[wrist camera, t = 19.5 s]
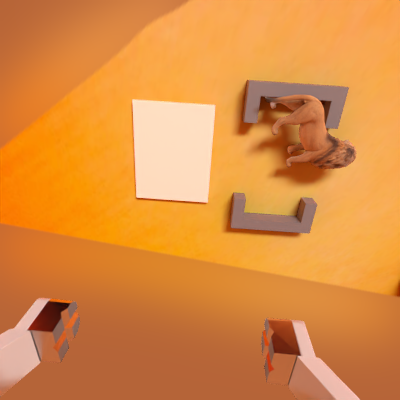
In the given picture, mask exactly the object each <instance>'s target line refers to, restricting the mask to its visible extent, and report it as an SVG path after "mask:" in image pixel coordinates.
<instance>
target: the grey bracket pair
mask: <svg viewBox="0 0 400 400" xmlns="http://www.w3.org/2000/svg"><path fill="white" fill-rule="evenodd" d="M348 89H349V87H342V86H328V85H313V84H298V83H284V82H269V81H254V80H247V86H246V95H245V103H244V111H243V119H242V120H243V121H244V122H247V123H257V119H258V112H259V105H260V98H261V96H267V97H286V96H292V95H310V96H313V97H316V98H317V99H318V100H325V102H324V106H323V108H324V122H325V126H326V128H335V129H338V126H339V122H340V118H341V115H342V111H343V107H344V104H345V100H346V96H347V93H348ZM245 201H246V199H245V195H244V193H233V200H232V208H231V217H230V225H231V228H240V229H254V230H268V231H282V232H297V233H310V229H311V225H312V222H313V218H314V214H315V211H316V207H317V204H316V203H315V201H314V200H313V199H312V198H301V201H300V206H299V210H298V214H297V216H285V215H271V214H256V213H244V208H245Z"/></svg>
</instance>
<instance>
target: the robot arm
mask: <svg viewBox="0 0 400 400" xmlns="http://www.w3.org/2000/svg"><path fill="white" fill-rule="evenodd" d="M76 309H77V304H76V302H74V301H67V300H58V299H49V298H39V299H38V300H36V301H35V303H34V304H33V305H32V307H31V308H30V309H29V310H28V312H27V313H26V314H25V315H24V317H23V318H22V319H21V320H20V322H19V323H18V324H17V326H16V327H15V328H14V329H9V330H7V331H6V332H4V333H2V334H1V335H0V396H1V395H3V394H4V393H5V392H6V391H7V390H9V389H10V388H11V387H12V386H13V385H14V384H16V383H17V382H18V381H19V380H20V379H22V378H23V377H24V376H25V375H26V374H27V373H29V372H30V371H31V370H32V369H33V368H35V367H36V366H37V365H38V364H39V363H40V361H41V362H56V363H61V362H62V360H63V358H64V356H65V354H66V352H67V351H68V349H69V345H68V342H69V341H71V340H72V339H74V337H75V335H76V334H77V332H78V328H79V324H80V318H79V314H77V313H76V312H75V311H76ZM264 325H265V330H264V331H263V333H262V343H261V344H262V355H263V357H264V358H265V359H266V360H265V365H264V369H265V376H266V382H267V383H271V384H279V385H286V386H288V387H289V389H290V391H291V392H292V393H293V395H294V396H295V398H296V399H297V400H360V399H359V398H358V397H357V396H356V395H355V394H354V393H353V392H352V391H351V390H350V389H349V388H348V387H347V386H346V385H345V384H344V383H343V382H342V381H341V380H340V379H339V378H338V376H337V375H335V373H334V372H333V371H332V370H331V369H330V368H329V367H328V366H327V365H326V364H325V363H324V362H323V361H322V360H321V359H320V358H316V357H315V354H314V350H313V347H312V345H311V341H310V338H309V335H308V332H307V329H306V326H305V323H304V322H303V321H297V320H287V319H274V318H266V320H265V324H264Z"/></svg>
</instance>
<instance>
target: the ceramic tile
mask: <svg viewBox="0 0 400 400" xmlns="http://www.w3.org/2000/svg"><path fill="white" fill-rule="evenodd" d="M132 102H133V125H134V149H135V173H136V196H137V198H150V199H165V200H179V201H193V202H207V203H208V191H209V179H210V166H211V154H212V142H213V129H214V117H215V105H210V104H195V103H181V102H166V101H151V100H136V99H133V100H132Z"/></svg>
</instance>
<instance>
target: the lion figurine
mask: <svg viewBox="0 0 400 400" xmlns="http://www.w3.org/2000/svg"><path fill="white" fill-rule="evenodd" d="M265 99H266V101H267V102H269V103H270V106H271V108H272V109H275V108H276V104H277V103H281V104H284V105H285V106H287V107H288V108H290V109H291V110H293V111H294V112H293V113H292V114H291V115H289V116H286V117H280V118H279V119H278V120H277V122H276V123H275V124H274V125H273V127H272V133H273V135H276V134H277V133H278V128H279V127H280V126H281V125H284V124H292V125H299V124H300V127H299V138H300V141H301V143H299V144H296V145H290V146H288V153H289V154H292V153H293V152H294V151H297V150H305V152H304V153H303V154H302V155H299V156H294V157H290V158H289V159H287V160H286V165H287V167H290V166H291V163H299V162H308V161H310V162H311V164H312V165H314V166H316V167H318V168H326V169H334V168H342V167H346V166H348V165H349V164H350V163H351V162H353V161H354V160H355V158H356V149H355V146H353V145H352V143H351V142H349V141H348V140H345V141H341V140H339V139H338V138H335V137H332V136H331V135H330V134H328V132H327V130H326V126H325V122H324V108H323V105H322V103H321V102H320V101H319V100H318V99H317V98H316V97H313V96H310V95H292V96H286V97H279V98H270V97H266V96H265Z"/></svg>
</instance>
